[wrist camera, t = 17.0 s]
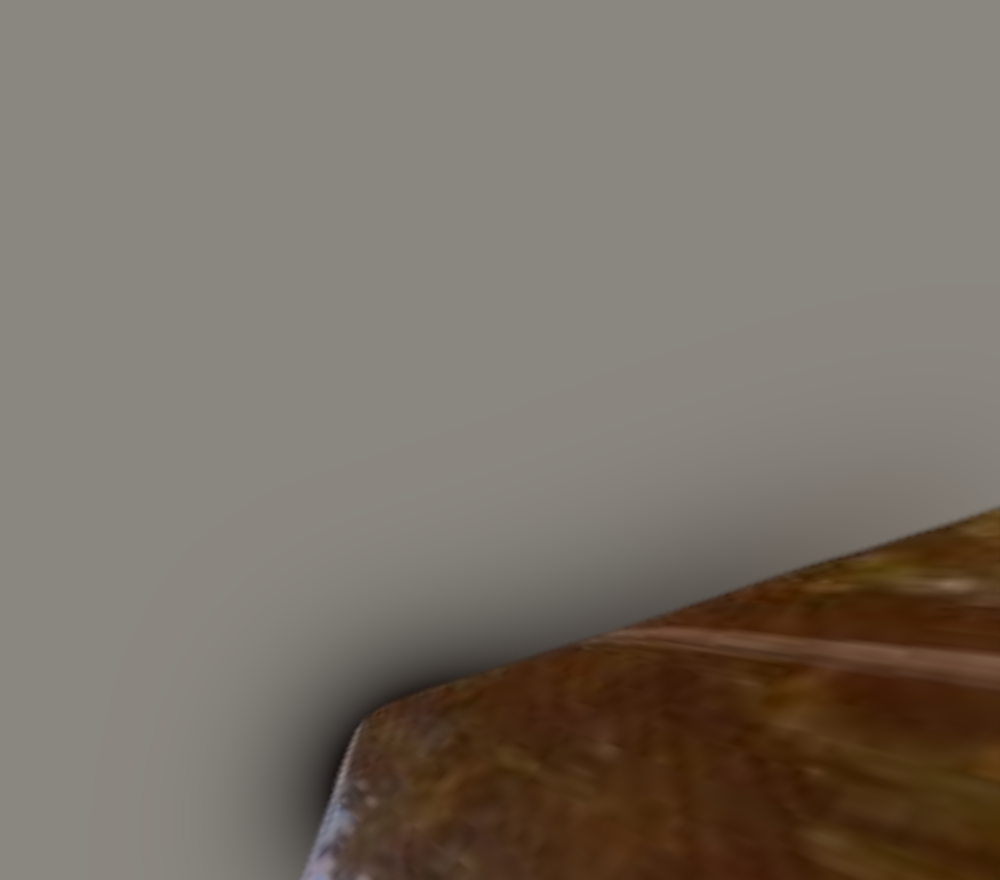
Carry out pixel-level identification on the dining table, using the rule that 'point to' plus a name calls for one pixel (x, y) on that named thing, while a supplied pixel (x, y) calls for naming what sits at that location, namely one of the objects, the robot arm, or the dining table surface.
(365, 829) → the dining table surface
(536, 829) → the dining table surface
